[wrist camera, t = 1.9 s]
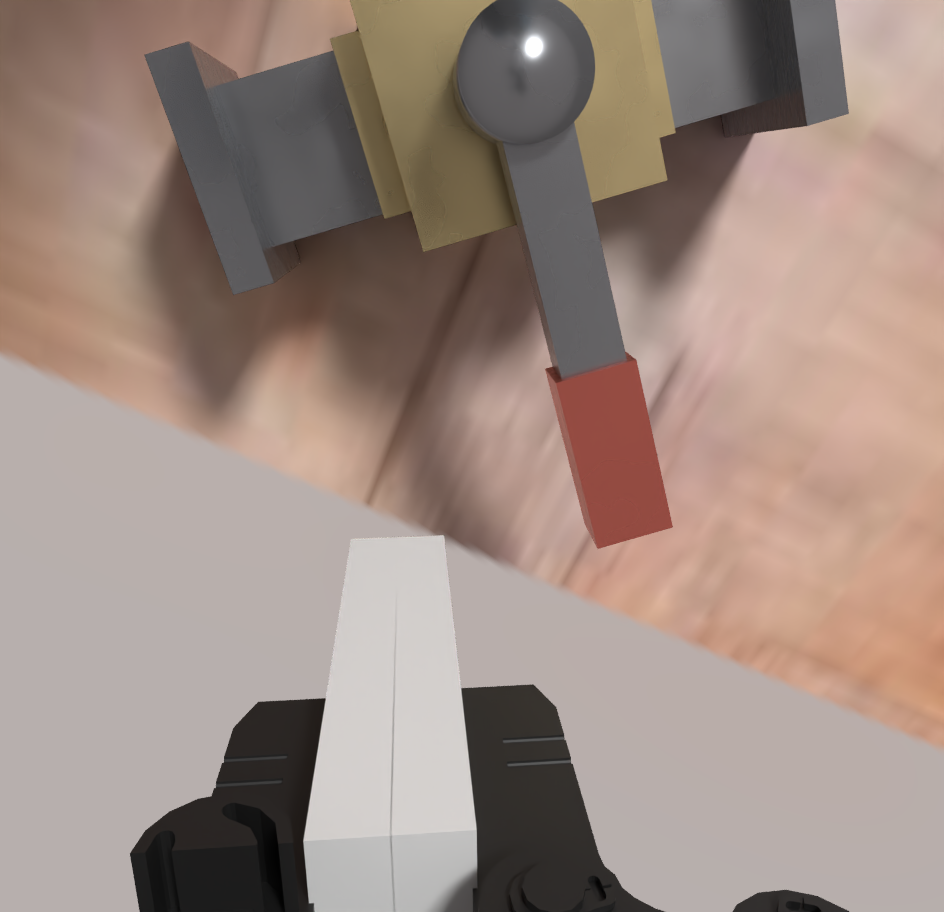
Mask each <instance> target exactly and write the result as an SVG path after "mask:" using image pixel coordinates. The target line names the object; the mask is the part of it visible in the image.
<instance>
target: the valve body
mask: <svg viewBox="0 0 944 912" xmlns="http://www.w3.org/2000/svg"><path fill="white" fill-rule="evenodd" d="M495 1H497V0H350V2H351V6H352V9H353V13H354V16H355V19H356V23H357V26H358V31H355V32H351V33H348V34H345V35H341V36H338V37H335V38H331V39H330V40H331V44H332V47H333V50H334V51H331V52H327V53H324V54H321V55H317V56H314V57H311V58H307V59H304V60H301V61H297V62H294V63H291V64H287V65H284V66H281V67H277V68H274V69H271V70H267V71H264V72H260V73H257V74H254V75H250V76H247V77H244V78H240V79H238V76H237V73H236V72H235V71H234V70H232V69H230V68H229V67H227V66H226V65H224V64H223V63H221V62H220V61H218V60H216V59H215V58H213V57H212V56H210V55H209V54H207V53H206V52H204V51H203V50H201V49H199V48H198V47H196V46H195V45H193V44H192V43H190V42H185V43H182V44H179V45H175V46H172V47H169V48H165V49H162V50H159V51H155V52H152V53H149V54H145V58H146V61H147V63H148V66H149V69H150V71H151V74H152V77H153V80H154V82H155V85H156V88H157V90H158V93H159V96H160V98H161V101H162V104H163V106H164V109H165V112H166V115H167V117H168V120H169V123H170V125H171V128H172V131H173V133H174V136H175V139H176V142H177V144H178V147H179V150H180V152H181V155H182V158H183V160H184V163H185V166H186V169H187V171H188V174H189V177H190V179H191V182H192V185H193V187H194V190H195V193H196V196H197V198H198V201H199V204H200V206H201V209H202V212H203V214H204V217H205V220H206V222H207V225H208V228H209V231H210V233H211V236H212V239H213V241H214V244H215V247H216V249H217V252H218V255H219V258H220V260H221V263H222V266H223V268H224V271H225V274H226V276H227V279H228V282H229V285H230V287H231V290H232V293H233V295H235V294H238V293H242V292H245V291H248V290H252V289H255V288H259V287H262V286H265V285H269V284H272V283H275V282H276V281H277V280H278V279H280V278H281V277H282V276H284V275H285V274H286V273H288V272H289V271H290V270H292V269H293V268H294V267H296V266H297V265H298V264H299V263H301V261H300V258H299V255H298V252H297V249H296V246H295V244H294V240H297V239H301V238H304V237H308V236H311V235H314V234H318V233H321V232H325V231H328V230H331V229H335V228H338V227H341V226H345V225H348V224H352V223H355V222H358V221H362V220H365V219H369V218H372V217H375V216H379V215H382V214H383V216H384V219H386V218H389V217H393V216H396V215H400V214H403V213H406V212H410V211H411V212H412V215H413V219H414V222H415V225H416V229H417V232H418V236H419V239H420V243H421V246H422V249H423V252H426V251H429V250H432V249H436V248H439V247H443V246H446V245H449V244H453V243H456V242H460V241H463V240H466V239H470V238H473V237H477V236H480V235H483V234H487V233H490V232H494V231H497V230H500V229H504V228H507V227H511V226H514V225H517V223H516V219H515V215H514V212H513V208H512V204H511V200H510V196H509V192H508V188H507V184H506V180H505V176H504V172H503V168H502V164H501V160H500V156H499V152H498V148H497V145H496V144H493V143H491V142H489V141H487V140H485V139H483V138H482V137H480V136H479V135H478V134H476V133H475V132H474V131H473V130H472V129H471V128H470V127H469V125H468V124H467V123H466V122H465V120H464V118H463V117H462V115H461V113H460V111H459V109H458V107H457V104H456V101H455V96H454V91H453V70H454V64H455V61H456V57H457V54H458V52H459V49H460V47H461V44H462V42H463V40H464V37H465V35H466V33H467V31H468V29H469V27H470V26H471V24H472V22H473V21H474V20H475V18H476V17H477V16H478V15H479V14H480V13H481V12H482V11H483V10H484V9H485V8H486V7H488V6H489V5H490V4H492V3H493V2H495ZM558 1H560V2H562V3H563V4H565V5H566V6H567V7H569V8H570V9H571V10H572V11H573V12H574V13H575V14H576V15H577V16H578V18H579V19H580V20H581V22H582V23H583V25H584V27H585V28H586V30H587V32H588V35H589V37H590V39H591V42H592V46H593V50H594V56H595V78H594V83H593V88H592V91H591V94H590V97H589V100H588V102H587V104H586V106H585V108H584V109H583V111H582V112H581V114H580V115H579V117H578V118H577V119H576V120H575V121H574V124H575V128H576V133H577V137H578V142H579V146H580V151H581V155H582V160H583V164H584V169H585V173H586V178H587V182H588V187H589V191H590V196H591V200H592V202H596V201H599V200H602V199H606V198H609V197H612V196H616V195H619V194H623V193H626V192H629V191H633V190H636V189H640V188H643V187H646V186H650V185H653V184H657V183H660V182H663V181H667V175H666V170H665V164H664V159H663V154H662V149H661V144H660V137H664V136H667V135H671V134H674V133H676V132H675V128H677V127H680V126H683V125H687V124H690V123H694V122H697V121H700V120H704V119H707V118H711V117H714V116H717V115H721V118H722V124H723V130H724V136H725V137H731V136H739V135H746V134H753V133H760V132H767V131H774V130H781V129H788V128H796V127H803V126H808V125H812V124H815V123H819V122H822V121H825V120H829V119H832V118H836V117H839V116H842V115H846V114H849V112H848V104H847V95H846V87H845V79H844V70H843V62H842V54H841V45H840V37H839V29H838V21H837V12H836V4H835V0H558Z"/></svg>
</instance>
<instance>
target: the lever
mask: <svg viewBox="0 0 944 912" xmlns="http://www.w3.org/2000/svg"><path fill="white" fill-rule="evenodd" d="M594 78H595V56H594V50H593V46H592V42H591V39H590V37H589V35H588V32H587V30H586V28H585V27H584V25H583V23H582V22H581V20H580V19H579V18H578V16H577V15H576V14H575V13H574V12H573V11H572V10H571V9H570V8H569V7H567V6H566V5H565V4H563V3H562V2H560V1H558V0H497V1H495V2H493V3H492V4H490V5H489V6H488V7H486V8H485V9H484V10H483V11H482V12H481V13H480V14H479V15H478V16H477V17H476V18H475V20H474V21H473V22H472V24H471V26H470V27H469V29H468V31H467V33H466V35H465V37H464V40H463V42H462V44H461V47H460V49H459V52H458V54H457V57H456V61H455V64H454V70H453V91H454V96H455V101H456V104H457V107H458V109H459V111H460V113H461V115H462V117H463V118H464V120H465V122H466V123H467V124H468V125H469V127H470V128H471V129H472V130H473V131H474V132H475V133H476V134H478V135H479V136H480V137H482V138H483V139H485V140H487V141H489V142H491V143H493V144H496V145H497V148H498V152H499V156H500V160H501V164H502V168H503V172H504V176H505V180H506V184H507V188H508V192H509V196H510V200H511V204H512V208H513V212H514V215H515V219H516V223H517V227H518V231H519V235H520V239H521V243H522V247H523V251H524V255H525V259H526V263H527V267H528V271H529V275H530V279H531V283H532V287H533V291H534V295H535V299H536V303H537V307H538V311H539V314H540V318H541V322H542V326H543V330H544V334H545V338H546V342H547V346H548V350H549V354H550V358H551V362H552V366H553V367H550V368H546V369H545V370H546V374H547V378H548V382H549V386H550V390H551V394H552V398H553V401H554V405H555V409H556V413H557V417H558V421H559V425H560V429H561V433H562V437H563V441H564V444H565V448H566V452H567V456H568V460H569V464H570V468H571V472H572V476H573V480H574V484H575V487H576V491H577V495H578V499H579V503H580V507H581V511H582V515H583V519H584V523H585V525H586V527H587V529H588V531H589V533H590V535H591V537H592V539H593V541H594V543H595V544H596V546H597V548H598V549H599V548H602V547H606V546H609V545H613V544H616V543H620V542H623V541H627V540H630V539H634V538H637V537H641V536H644V535H648V534H651V533H654V532H658V531H661V530H665V529H668V528H672V527H673V526H672V522H671V517H670V512H669V508H668V503H667V499H666V494H665V489H664V485H663V480H662V476H661V471H660V467H659V462H658V457H657V453H656V448H655V444H654V439H653V434H652V430H651V425H650V421H649V416H648V412H647V407H646V402H645V398H644V393H643V389H642V384H641V379H640V375H639V370H638V366H637V361H636V359H634V358H633V357H632V356H631V355H629V354H628V353H627V352H625V349H624V345H623V340H622V336H621V331H620V327H619V322H618V318H617V313H616V309H615V304H614V300H613V295H612V291H611V286H610V282H609V277H608V273H607V268H606V264H605V259H604V255H603V250H602V246H601V241H600V237H599V232H598V228H597V223H596V219H595V214H594V209H593V205H592V200H591V196H590V191H589V187H588V182H587V178H586V173H585V169H584V164H583V160H582V155H581V151H580V146H579V142H578V137H577V133H576V128H575V124H574V121H575V120H576V119H577V118H578V117H579V115H580V114H581V112H582V111H583V109H584V108H585V106H586V104H587V102H588V100H589V97H590V94H591V91H592V88H593V83H594Z"/></svg>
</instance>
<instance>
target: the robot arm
mask: <svg viewBox="0 0 944 912" xmlns="http://www.w3.org/2000/svg"><path fill="white" fill-rule="evenodd" d="M130 856H131V862H132V868H133V874H134V880H135V886H136V892H137V898H138V904H139V910H140V912H664V911H661V910H658V909H655V908H653V907H651V906H649V905H647V904H645V903H643V902H641V901H640V900H638V899H636V898H634V897H633V896H632V895H631V894H629V893H628V892H627V891H625V890H624V889H623V888H622V887H621V885H620V883H619V881H618V879H617V878H616V876H615V874H613V873H612V872H611V871H610V870H608V869H607V868H606V867H605V866H604V864H603V862H602V860H601V858H600V856H599V854H598V850H597V846H596V843H595V840H594V836H593V833H592V830H591V826H590V822H589V819H588V815H587V812H586V809H585V806H584V802H583V798H582V795H581V791H580V788H579V785H578V781H577V778H576V774H575V771H574V767H573V764H571V757H570V753H569V750H568V747H567V743H566V740H564V733H563V729H562V726H561V722H560V719H559V716H558V712H557V709H556V707H555V706H554V705H553V704H552V703H551V702H550V701H549V700H548V699H547V698H546V697H545V696H544V695H543V694H542V693H541V692H540V691H539V690H538V689H537V688H536V687H535V686H534V685H516V686H497V687H478V688H461V683H460V675H459V665H458V656H457V648H456V638H455V629H454V620H453V612H452V602H451V593H450V584H449V576H448V566H447V557H446V548H445V538H444V535H439V536H414V537H390V538H365V539H351V542H350V549H349V555H348V562H347V568H346V574H345V581H344V587H343V593H342V600H341V606H340V613H339V618H338V625H337V631H336V638H335V644H334V650H333V657H332V664H331V669H330V676H329V682H328V688H327V695H326V698H324V699H305V700H287V701H267V702H258V703H257V704H256V705H255V706H254V707H253V708H252V709H251V710H250V711H249V712H248V713H247V714H246V715H245V716H244V717H243V718H242V719H241V721H240V722H239V723H238V724H237V725H236V726H235V727H234V728H233V731H232V734H231V738H230V740H229V744H228V747H227V750H226V753H225V756H224V763H222V765H221V768H220V772H219V775H218V778H217V781H216V788H214V790H213V793H212V796H211V797H206V798H201V799H197V800H195V801H192V802H190V803H188V804H186V805H184V806H181V807H179V808H177V809H174V810H172V811H170V812H169V813H167V814H166V815H165V816H163V817H162V818H161V819H160V820H158V821H157V822H156V823H154V824H153V825H152V826H151V827H150V828H148V829H147V830H146V831H145V832H144V833H143V835H142V837H141V838H140V839H139V841H138V843H137V844H136V845H135V847H134V848H133V850H132V851H131V853H130ZM733 912H849V911H847V910H845V909H843V908H841V907H839V906H837V905H835V904H832V903H831V902H829V901H826V900H824V899H822V898H820V897H818V896H814V895H809V894H804V893H799V892H794V891H789V890H780V891H771V892H761V893H757V894H755V895H753V896H752V897H750V898H748V899H746V900H744V901H743V902H741V903H739V904H737V905H736V907H735V909H734V910H733Z"/></svg>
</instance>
